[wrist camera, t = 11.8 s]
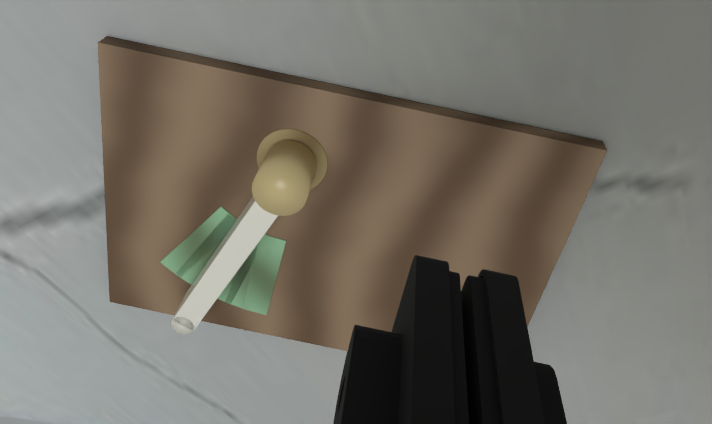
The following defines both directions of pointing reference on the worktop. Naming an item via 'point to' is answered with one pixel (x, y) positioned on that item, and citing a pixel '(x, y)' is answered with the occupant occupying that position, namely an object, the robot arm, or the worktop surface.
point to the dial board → (319, 193)
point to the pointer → (250, 226)
